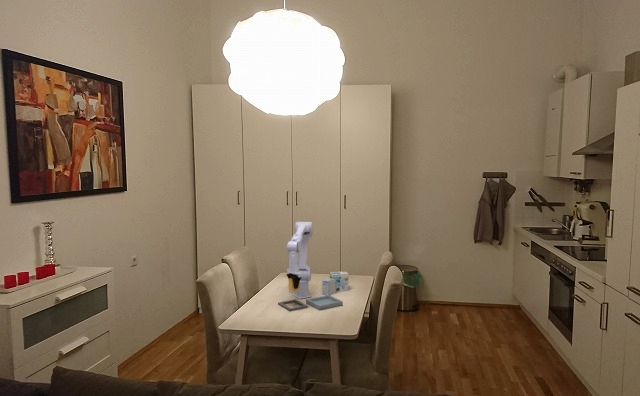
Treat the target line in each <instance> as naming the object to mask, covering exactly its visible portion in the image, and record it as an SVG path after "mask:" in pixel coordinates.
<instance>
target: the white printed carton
mask: <svg viewBox="0 0 640 396" xmlns="http://www.w3.org/2000/svg"><path fill="white" fill-rule="evenodd" d="M349 276H350V275H349V272H347V271H345V270H344V271H329V278H332V279H336V292H345V291H346V292H348V291H349V279H350V278H349Z"/></svg>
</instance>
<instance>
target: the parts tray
mask: <svg viewBox="0 0 640 396" xmlns="http://www.w3.org/2000/svg"><path fill="white" fill-rule="evenodd" d="M305 299H306V301H305V305H307V306H311V307H312V308H314V309H316V310H318V311H325V310H329V309H334V308H338V307H343V306H344V305H343V300H341V299H339V298H336V297H334V296H332V295H321V296H317V297H309V298H305Z"/></svg>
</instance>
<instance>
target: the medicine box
mask: <svg viewBox="0 0 640 396" xmlns="http://www.w3.org/2000/svg"><path fill="white" fill-rule="evenodd" d="M321 285H322V286H321V294H322V295H321V296H326V295H330V296H332V295H334V294H336V293H337V291H336V279H332V278H330V277H329V278H326V279H323V280H322V281H321Z"/></svg>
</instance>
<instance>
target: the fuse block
mask: <svg viewBox="0 0 640 396" xmlns="http://www.w3.org/2000/svg"><path fill="white" fill-rule="evenodd" d="M297 292H300V282H299V286H298V288H297V289H294V285H293V280H292V278H289V279H288V293H290V294H294V293H297Z"/></svg>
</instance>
